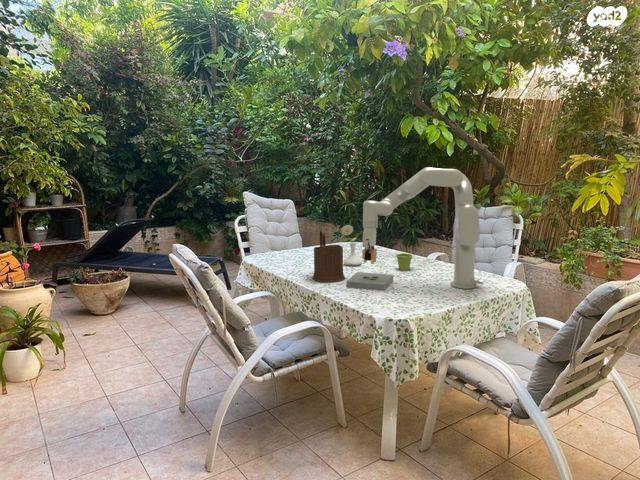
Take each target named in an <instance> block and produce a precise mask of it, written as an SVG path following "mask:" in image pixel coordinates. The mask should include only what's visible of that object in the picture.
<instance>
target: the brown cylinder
mask: <svg viewBox="0 0 640 480" xmlns="http://www.w3.org/2000/svg"><path fill="white" fill-rule="evenodd" d="M313 262H314V263H313V264H314V265H313V266H314V267H313V271H314V273H313V276H312V279H313V280H314V282H315V283H320V284H336V283H341V282H343V281H345V280H346V277H345V275H344V247H343V246H341V245H339V244H327V245H326V234H325V231H324V230H319V246H315V247H313ZM313 280H312V281H313Z"/></svg>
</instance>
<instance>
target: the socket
mask: <svg viewBox="0 0 640 480" xmlns="http://www.w3.org/2000/svg"><path fill="white" fill-rule="evenodd" d="M393 281H394V274H387V273H375V272H365V271H364V272H363V271H361V272H360V271H356V273H354V274H353V275H352V276H351V277H350V278H348V279H347V280H346V281H345V285H346V288H353V289H366V290H374V291H375V290H377V291H386V290H387V288H388V287H389V286H390V285H391V284H392V282H393Z"/></svg>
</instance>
